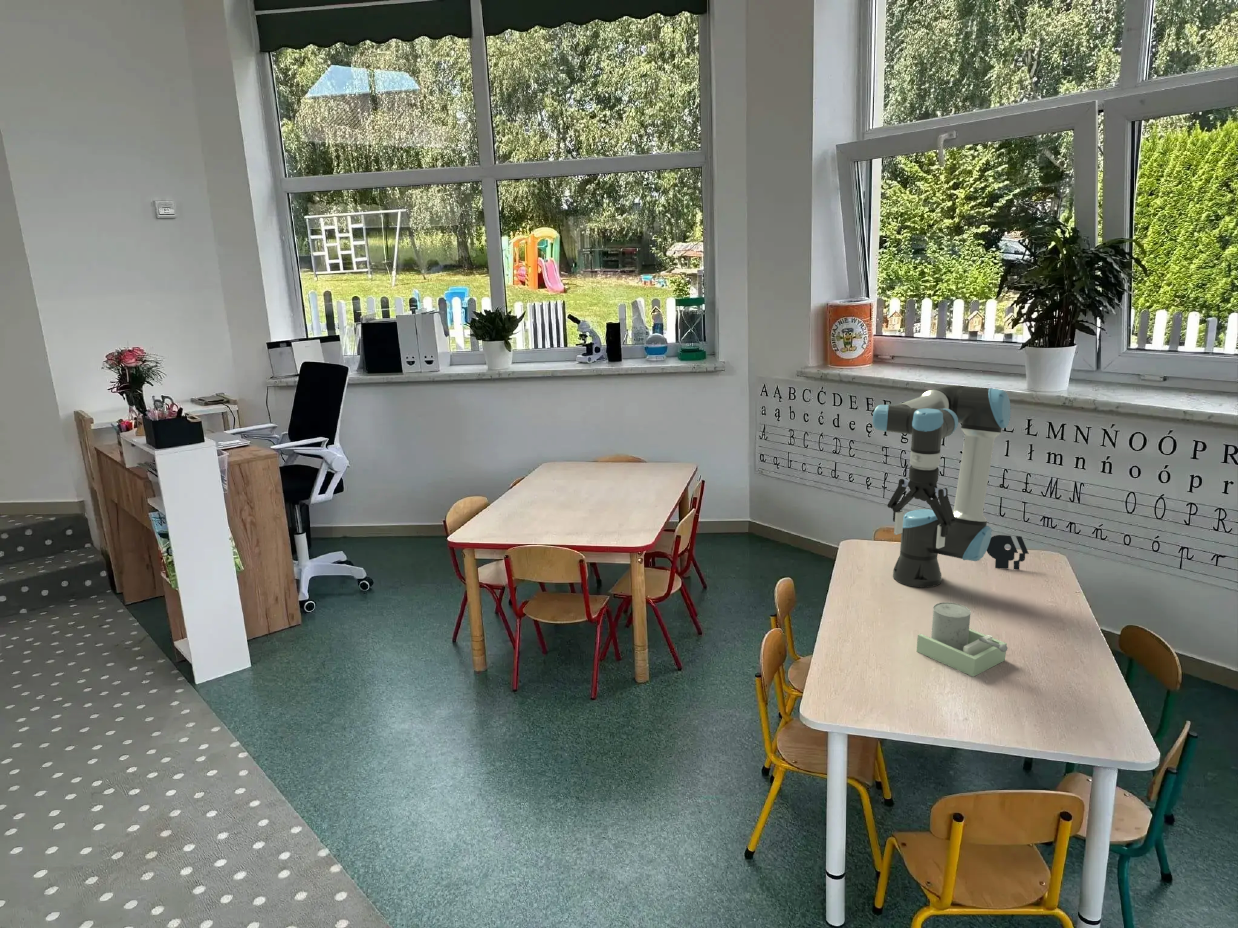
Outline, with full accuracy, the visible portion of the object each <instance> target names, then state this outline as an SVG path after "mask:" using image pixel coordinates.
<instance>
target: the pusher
mask: <svg viewBox="0 0 1238 928" xmlns="http://www.w3.org/2000/svg"><path fill="white" fill-rule="evenodd" d="M985 635H986V636H984V637H980V638H979V639H978V640H976V641H974V642H972V643H970V644H968V645H966V646H964V648H963V652H965V653H967V654H969V655H972V656H975V655H977V654H979V653H981V652H983V651H985V650H987V649H989V648H991V647H992V646H994V647H996V648H999V650H1000V651H1001V652H1006V653H1007V651H1008V646H1006V645H1004V644H1001V645H999V644H997V643H994V642H992V638H994V636H993V635H991V634H985Z"/></svg>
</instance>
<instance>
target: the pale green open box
mask: <svg viewBox="0 0 1238 928" xmlns="http://www.w3.org/2000/svg"><path fill="white" fill-rule="evenodd" d="M986 635H987V634H984V633H982V632H980V631H977V630H975V629H973V628H972V629H971V628H970V627H969V635H968V644H970V643H972V642H974V641H976V640H978V639H979V638H980V637H984V636H986ZM992 642H994V643H997V644H999V645H1001V644H1004V645H1006V646H1007V644H1008V643H1007V642H1004V641H1001V640H999V639H997V638H994V637H992ZM1007 647H1008V646H1007ZM916 652H917V653H919V654H921V655H923V656H926V657H927V658H930V659H932V660H935V661H938V662H939V663H942V664H943V665H945V666H948V667H950V668H952V669H955V670H957V671H959V672H961V673H964V674H966V675H968V676H969V677H970V676H971V677H976V676H977V675H979V674H981V673H983V672H985V671H987V670H989V669H991V668H993V667H994V666H996V665H998V664H1001V663H1002V662H1005V660H1006V655H1007V654H1006V653H1007V651H1006V652H1001V651H1000V650H999V648H996V647H994V646H992V647H991V648H989V649H987V650H985V651H983V652H981V653H979V654H977V655H975V656H972V655H969V654H967V653H965V652H962V651H960V650H958V649H955V648H953V647H951V646H948V645H946V644H944V643H941V642H939V641H937V640H934V639H932V638H931V636H930V637H929V636H927V635H925V634H922V633H918V634H917V643H916Z"/></svg>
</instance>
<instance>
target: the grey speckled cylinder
mask: <svg viewBox="0 0 1238 928" xmlns="http://www.w3.org/2000/svg"><path fill="white" fill-rule="evenodd" d="M971 614H972V611H971V609H970V608H968V607H967V606H966V605H963V604H960V603H956V602H948V601H947V602H939V603H936V604H934V605H933V611H932V621H931V622H932V623H931V633H930V634H931V635H930V638H932V639H934V640H937V641H939V642H941V643H944V644H946V645H948V646H951V647H953V648H955V649H958V650H960V651H962V652H963V648H964V646H966V645H968V635H969V628H970V624H971V623H970V622H971Z"/></svg>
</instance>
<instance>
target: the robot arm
mask: <svg viewBox="0 0 1238 928" xmlns="http://www.w3.org/2000/svg"><path fill="white" fill-rule="evenodd" d="M1010 420H1011V401H1010V397H1009V394H1008V393H1007V392H1006V391H1005V390H1004V389H998V388H993V387H979V386H967V385H959V384H958V385H946V386H942V387H937V388H934V389H930V390H927V391H925V392H924V393H922V394H921V395H920V396H918V397H916V398H913V399H910V400H907V401H904V402H902V403H898V404H895V405H891V404H879V405H877V406H876V407H875V409H874V410H873V414H872V425H873V428H874V429H875V430H878V431H882V432H888V433H897V434H905V435H911V443H910V444H911V445H910V458H909V464H910V466H909V469H908V470H909V471H908V477H904V478H901V479H899V480H898V484H897V487H896V489H895V490H894V493H893V495H892V496H891V497H890V499H889V501H888V503H887V505H886V506H887V508H889V509H891V510H892V512H893V514H892V522H894V529H893V530H894V531H893V535H896V536H897V535H900V547H899V548H900V550H899V555H898V558H897V561H896V563H895V565H894V568H893V570H892V571H893V572H892V578H893V579H894V580H895V581H896V582H897V583H900V584H902V585H905V586H908V587H914V588H932V587H935V586H938V585H940V584H941V582H942V572H941V568H940V564H939V559H938V555H941V556H946V557H952V558H956V559H959V560H962V561H971V562H978V561H981V559H983V558H984V556H985V554H986V553H987V548H988V546H989V543H990V540H991V537H992V535H993V534H992V532H993V531H992V530H993V529H992V527H990V526H989V525H988V524H987V523H988V519H987V518H986V517H985V515H984V509H985V501H986V496H987V489H988V483H989V479H990V478H989V476H990V470H991V464H992V459H993V458H992V457H993V451H994V447H995V439H996V438H997V437H998V436H1000V435H1001V433H1002V430H1003V429H1006V428H1008V426H1009V423H1010ZM959 424H961V425H960V430H961V431H962V432H963V433H964V439H963V441H964V442H963V446H962V447H963V448H962V454H961V459H960V466H959V474H958V479H957V484H956V485H957V487H956V492H955V497H954V505H953V508H952V504H951V502H950V498H949V494H948V493H949V490H948V488H947V487H944V488H940V487H938V485H937V483H938V480H939V475H940V474H939V473H940V469H939V467H940V462H941V461H940V460H941V459H940V458H941V447H942V440H943V439H945V438H947V437H949V436H950V435H952V434H953V433H954V432H955V431H956V430H957V429H958V425H959ZM907 488H909V491H908V492H907V493H906V494H905V496H904V497H903V498H902V496H903V494H904V493H905V491H906V490H907ZM901 498H902V499H901ZM913 499H915V500H921V502H922V501H923V502H926V503H927V504H928V505H929V506H930V508H931V509H928V508H927V509H926V508H924V509H914V510H910V511H908V512H905V510H903V509H904V507H905V506H907V505H908V504H909V503H910V502H911V501H912V500H913ZM904 513H905V514H904Z"/></svg>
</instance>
